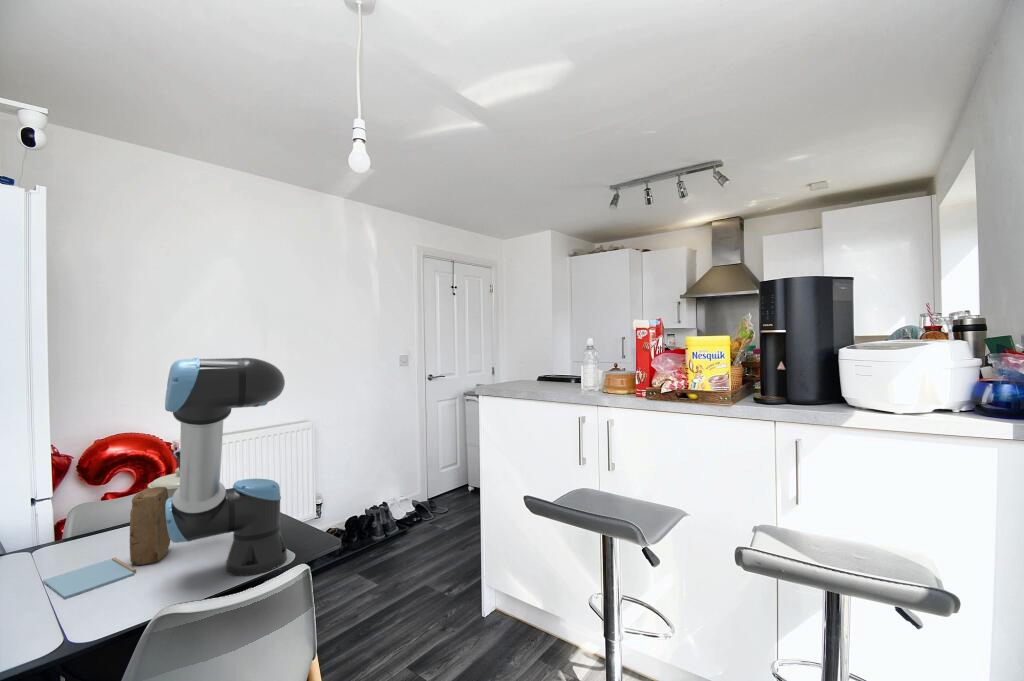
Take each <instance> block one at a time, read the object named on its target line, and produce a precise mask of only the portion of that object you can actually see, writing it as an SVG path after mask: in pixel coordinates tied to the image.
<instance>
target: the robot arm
mask: <svg viewBox="0 0 1024 681" xmlns="http://www.w3.org/2000/svg"><path fill="white" fill-rule="evenodd" d="M285 381H286V380H285V376H284V374H283V373H282V371H281V369H279V368H278V367H277V366H276V365H274V364H273V363H271V362H268V361H266V360H262V359H258V358H254V357H253V358H251V357H239V358H238V357H233V358H229V357H228V358H224V357H223V358H199V357H193V358H188V359H187V358H185V359H177V360H175V361H174V362H173V363H172V364H171V366H170V369H169V373H168V377H167V382H166V383H167V384H166V389H165V390H166V391H165V399H164V409H165V411H166V412H170V413H172V415H173V417H174V418H175V420H176V421H177V422H179V423H180V435H179V436H180V439H179V440H180V442H179V443H180V446H179V447H180V448H178V449H177V450H174V451H172V453H171V454H172V456H174V457H175V459H176V462H177V465H178V467H179V470H180V487H179V488H178V489H177V490H176V491H175V493H174V495H173V497H171V498H169V499H167V500H166V505H165V513H166V522H167V530H168V535H169V538H170V542H172V543H176V544H178V543H179V544H180V543H184V542H185V543H186V542H187V543H188V542H191V541H196V540H200V539H206V538H210V537H214V536H218V535H220V536H221V535H224V534H229V533H233V540H232V543H231V546H230V549H229V551H228V556H227V557H226V562H225V570H226V572H227V573H228V574H230V575H233V576H252V575H258V574H262V573H265V571H266V572H268V571H267V570H269V571H271V570H273V569H272V568H274V567H276V568H278V567H279V566H281V565H282V564H284V563H285V562H286V560H287V557H288V555H287V554H288V551H287V550H288V549H287V547H286V544H285V542H284V538H283V536H282V533H281V499H282V498H281V497H282V496H281V488H280V487H281V486H280V484H279V482H276V481H275V480H272V479H269V478H245V479H241V480H237V481H235V482H234V484H233V485H232V488H226V487H225V485H224V484H223V483H222V482H221V469H222V468H221V466H222V452H223V451H222V450H223V432H224V420H226V419H227V418H228V417H229V416H230V415H231V413H232V409H238V408H239V409H240V408H257V407H263V406H266V405H267V404H268V403H269V402H272V401H273V400H275V399H277V398H278V397H279V396H281V394H282V392H283V391H284V388H285V384H286V382H285ZM284 561H285V562H284ZM283 562H284V563H283ZM278 565H279V566H278ZM277 566H278V567H277ZM270 569H271V570H270ZM274 569H275V568H274ZM261 572H262V573H261Z"/></svg>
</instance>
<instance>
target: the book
mask: <svg viewBox="0 0 1024 681" xmlns="http://www.w3.org/2000/svg"><path fill="white" fill-rule="evenodd" d="M135 574H137V569H136V568H134V567H133V566H131V565H129V564H128V563H126V562H124V561H122V560H121V559H118V558H117V557H112V558H111V559H110V558H109V559H106V560H104V561H100V562H97V563H94V564H91V565H87V566H84V567H81V568H77V569H75V570H71V571H67V572H64V573H60V574H57V575H55V576H52V577H49V578H45V579H43V580H42V583H43V582H44V583H46V584H47V585H48V586H49V587H48V586H47V585H46V584H45V585H46V586H47V587H48V588H49V589H51V588H52V589H53V590H54V591H53V590H52V589H51V590H52V591H53V592H55V593H56V594H57V593H58V594H59V595H58V594H57V595H58V596H59V597H61V598H62V599H63V600H66V599H69V597H70V598H72V596H73V597H75V596H78V595H81V594H83V593H84V594H85V593H87V592H89V591H90V592H91V591H92V590H95V588H96V589H98V588H100V587H104V586H107V585H110V584H113V583H116V582H119V581H121V580H124V579H126V578H129V577H133V576H135ZM44 583H43V584H44Z"/></svg>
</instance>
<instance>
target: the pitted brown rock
mask: <svg viewBox="0 0 1024 681" xmlns="http://www.w3.org/2000/svg"><path fill="white" fill-rule="evenodd" d="M167 499H169V498H168V491H167V488H166V487H155V488H148V487H147V488H144V489H142V490H141V491H139V492H137V493H136V494H135V495H134V496H133V497H132V499H131V510H130V516H129V517H130V518H129V560H130V563H131V564H132V565H135V566H137V565H138V566H140V565H141V566H143V565H144V566H145V565H149V564H154V563H156V562H159V561H160V560H162V559H164V558H165V557H166V555H167V553H168V550H169V547H170V545H171V544H170V543H171V540H170V538H169V535H168V530H167V522H166V513H165V505H166V500H167Z"/></svg>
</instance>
